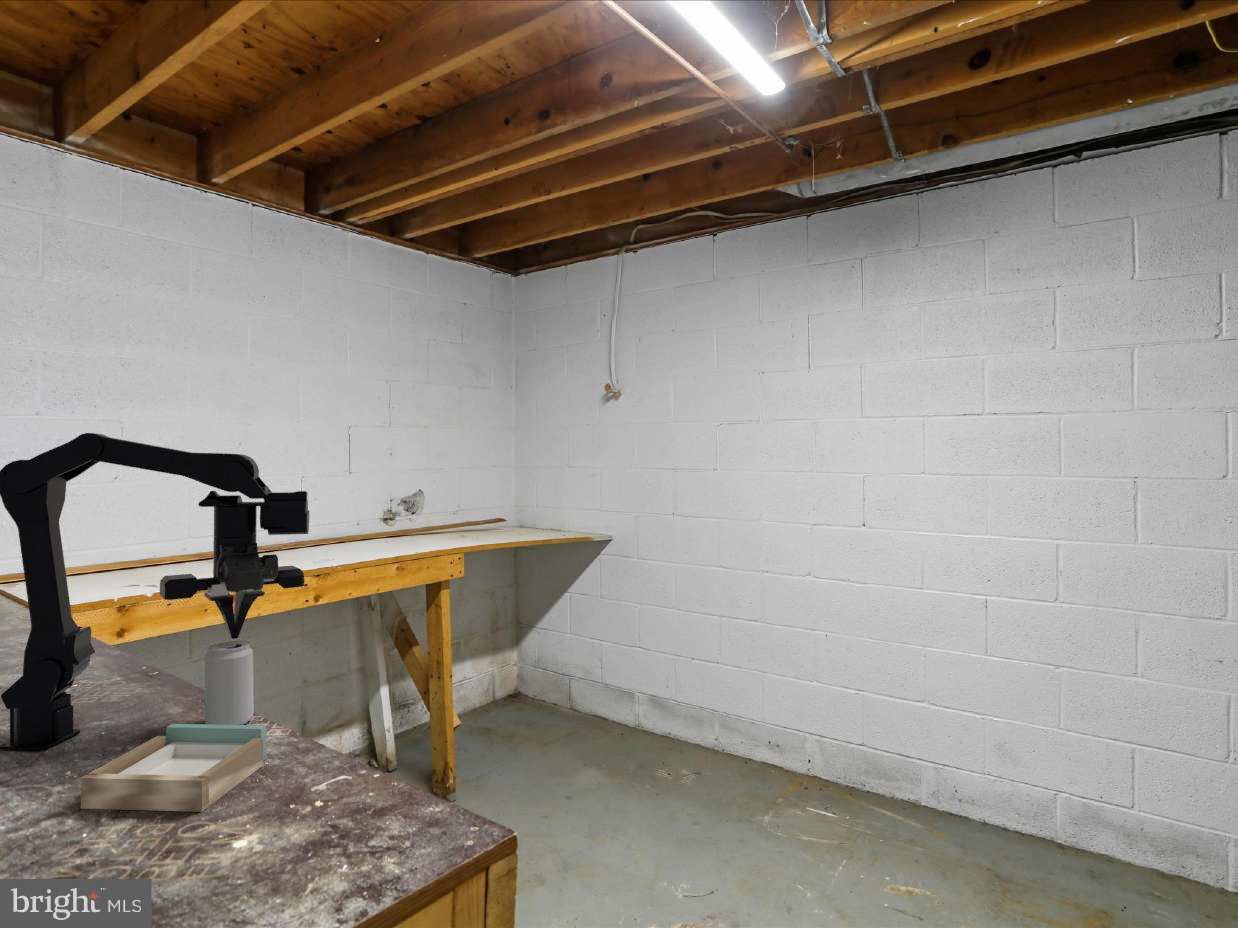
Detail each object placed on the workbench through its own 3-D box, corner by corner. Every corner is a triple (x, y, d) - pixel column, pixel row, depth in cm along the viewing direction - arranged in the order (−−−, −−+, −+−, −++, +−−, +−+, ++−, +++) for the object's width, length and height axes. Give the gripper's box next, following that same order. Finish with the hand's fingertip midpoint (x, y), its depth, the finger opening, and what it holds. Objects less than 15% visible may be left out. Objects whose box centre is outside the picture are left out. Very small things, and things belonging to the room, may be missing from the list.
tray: (99, 800, 81) (99, 762, 81) (172, 756, 94) (172, 723, 94) (207, 803, 81) (206, 765, 81) (266, 758, 93) (266, 725, 93)
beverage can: (232, 733, 101) (232, 651, 101) (194, 730, 103) (194, 649, 103) (263, 717, 108) (262, 640, 108) (227, 714, 109) (226, 638, 109)
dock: (80, 808, 80) (80, 777, 80) (157, 762, 92) (157, 735, 92) (202, 811, 79) (202, 780, 79) (263, 764, 91) (263, 737, 91)
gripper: (171, 544, 94) (170, 660, 94) (315, 536, 106) (314, 639, 106) (159, 537, 103) (158, 643, 103) (294, 531, 115) (293, 625, 115)
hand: (234, 638), depth 106 cm, fingers closed
